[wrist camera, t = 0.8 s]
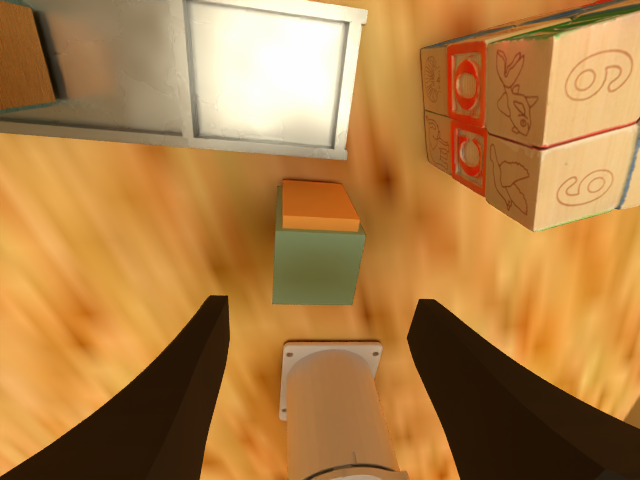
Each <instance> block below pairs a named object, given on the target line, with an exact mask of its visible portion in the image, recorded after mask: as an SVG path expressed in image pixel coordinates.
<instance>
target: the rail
mask: <svg viewBox="0 0 640 480" xmlns="http://www.w3.org/2000/svg"><path fill="white" fill-rule="evenodd" d="M367 14H368V10H366V9H359V8H353V7H346V6H339V5H333V4H326V3H319V2H313V1H306V0H0V133H11V134H23V135H36V136H48V137H61V138H73V139H86V140H98V141H110V142H123V143H135V144H148V145H160V146H173V147H185V148H198V149H210V150H223V151H235V152H248V153H260V154H273V155H285V156H298V157H310V158H323V159H335V160H347V153H348V150H347V149H346V148H345V145H346V138H347V131H348V124H349V116H350V109H351V102H352V95H353V88H354V80H355V73H356V66H357V59H358V52H359V44H360V37H361V30H362V26H363V25H365V24H366V21H367Z"/></svg>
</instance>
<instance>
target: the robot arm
mask: <svg viewBox="0 0 640 480" xmlns="http://www.w3.org/2000/svg"><path fill="white" fill-rule="evenodd" d="M407 340H408V344H409V347H410V351H411V354H412V357H413V360H414V363H415V366H416V368H417V370H418V373H419V375H420V377H421V379H422V382H423V384H424V386H425V388H426V391H427V393H428V395H429V397H430V399H431V402H432V404H433V406H434V408H435V410H436V413H437V415H438V417H439V419H440V422H441V424H442V427H443V429H444V432H445V434H446V437H447V440H448V443H449V446H450V449H451V452H452V455H453V458H454V461H455V464H456V467H457V470H458V473H459V477H460V480H640V429H638V428H636V427H634V426H632V425H629V424H627V423H625V422H623V421H621V420H619V419H617V418H615V417H613V416H611V415H609V414H606V413H604V412H602V411H600V410H598V409H596V408H594V407H592V406H590V405H589V404H587V403H585V402H583V401H581V400H579V399H577V398H575V397H574V396H572V395H570V394H568V393H566V392H565V391H563V390H561V389H559V388H557V387H556V386H554V385H552V384H551V383H549V382H547V381H545V380H544V379H542V378H541V377H539V376H537V375H536V374H534V373H533V372H531V371H530V370H528V369H526V368H525V367H523V366H522V365H520V364H519V363H517V362H516V361H514V360H513V359H511V358H510V357H509V356H507V355H506V354H504V353H503V352H502V351H500V350H499V349H497V348H496V347H495V346H493V345H492V344H491V343H489V342H488V341H487V340H485V339H484V338H483V337H481V336H480V335H479V334H478V333H476V332H475V331H474V330H472V329H471V328H470V327H469V326H467V325H466V324H465V323H464V322H462V321H461V320H460V319H459V318H458V317H456V316H455V315H454V314H453V313H451V312H450V311H449V310H448V309H446V308H445V307H444V306H442V305H441V304H440V303H438V302H437V301H436V300H434V299H419V301H418V304H417V307H416V311H415V314H414V317H413V320H412V323H411V326H410V329H409V333H408V336H407ZM229 341H230V329H229V305H228V296H217V295H210V296H209V297H208V298H207V299H206V300H205V302H204V303H203V305H202V306H201V307H200V309H199V310H198V311H197V313H196V314H195V315H194V316H193V318H192V319H191V320H190V321H189V323H188V324H187V325H186V326H185V327H184V328H183V330H182V331H181V332H180V333H179V334H178V335H177V337H176V338H175V339H174V340H173V341H172V342H171V343H170V344H169V345H168V346H167V347H166V348H165V350H164V351H163V352H162V353H161V354H160V355H159V356H158V357H157V358H156V359H155V360H154V361H153V362H152V363H151V364H150V365H149V366H148V367H147V368H146V369H145V370H144V371H143V372H142V373H140V374H139V375H138V376H137V377H136V378H135V379H134V380H133V381H132V382H131V383H129V384H128V385H127V386H126V387H125V388H124V389H122V390H121V391H120V392H119V393H118V394H116V395H115V396H114V397H113V398H112V399H110V400H109V401H108V402H107V403H106V404H104V405H103V406H102V407H101V408H99V409H98V410H97V411H95V412H94V413H93V414H92V415H90V416H89V417H88V418H86V419H85V420H83V421H82V422H81V423H79V424H78V425H77V426H75V427H74V428H72V429H71V430H70V431H68V432H67V433H66V434H64V435H63V436H61V437H60V438H59V439H57V440H56V441H54V442H53V443H52V444H50V445H49V446H47V447H46V448H44V449H43V450H41V451H40V452H38V453H37V454H35V455H34V456H32V457H30V458H29V459H27V460H26V461H24V462H23V463H21V464H19V465H18V466H16V467H15V468H13V469H12V470H10V471H8V472H7V473H5V474H4V475H2V476H1V477H0V480H200V474H201V468H202V462H203V456H204V451H205V445H206V440H207V436H208V431H209V427H210V423H211V419H212V416H213V412H214V408H215V404H216V401H217V397H218V393H219V389H220V386H221V382H222V378H223V374H224V370H225V366H226V361H227V354H228V348H229ZM382 350H383V347H382V345H381V343H379V342H288V343H286V344H285V345H284V347H283V361H282V376H281V390H280V405H279V419H280V420H283V421H286V420H287V480H409V477H408V473H407V471H400V469H399V466H398V462H397V459H396V455H395V452H394V448H393V445H392V442H391V438H390V435H389V431H388V428H387V424H386V421H385V418H384V414H383V411H382V407H381V404H380V400H379V397H378V393H377V390H376V387H375V383H374V379H375V375H376V371H377V368H378V364H379V360H380V357H381V353H382ZM289 352H290V353H289Z"/></svg>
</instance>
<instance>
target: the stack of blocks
mask: <svg viewBox="0 0 640 480" xmlns="http://www.w3.org/2000/svg"><path fill="white" fill-rule="evenodd" d="M421 64H422V79H423V94H424V107H425V112H424V117H425V133H426V145H427V154H428V160H429V162H430V163H431V164H433V165H434V166H436V167H437V168H439V169H440V170H442V171H444V172H446V173H448V174H449V175H452V177H453V178H454V179H455V180H457V181H458V182H460V183H461V184H463V185H465V186H467V187H468V188H470V189H471V190H473V191H474V192H476V193H478V194H480V195H481V196H483V197H486V201H487V202H488V203H489V204H491V205H492V206H494V207H495V208H497V209H498V210H500V211H501V212H503V213H504V214H506V215H507V216H509V217H511V218H512V219H514V220H516V221H517V222H519V223H520V224H522V225H523V226H525V227H526V228H528V229H529V230H531V231H533V232H536V231H543V230H546V229H549V228H553V227H556V226H560V225H564V224H567V223H571V222H574V221H578V220H582V219H586V218H590V217H593V216H596V215H599V214H603V213H607V212H610V211H611V210H613V209H618V210H623V209H628V208H631V207H635V206H638V205H640V0H599V1H597V2H596V3H593V4H589V5H585V6H581V7H576V8H571V9H566V10H561V11H556V12H551V13H546V14H541V15H537V16H533V17H529V18H526V19H522V20H518V21H514V22H511V23H507V24H503V25H500V26H496V27H492V28H488V29H485V30H482V31H480V32H478V33H475V34H471V35H468V36H464V37H460V38H456V39H453V40H449V41H445V42H442V43H439V44H435V45H431V46H428V47H424V48H422V49H421Z"/></svg>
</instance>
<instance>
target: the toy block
mask: <svg viewBox="0 0 640 480" xmlns="http://www.w3.org/2000/svg"><path fill="white" fill-rule="evenodd" d="M365 237H366V234H365V232H364V230H363V228H362V226H361V224H360V219H359V217H358V215H357V213H356V211H355V209H354V207H353V205H352V203H351V201H350V199H349V197H348V195H347V193H346V191H345V190H344V188H343V186H342V184H337V183H323V182H308V181H293V180H283V186H277V205H276V227H275V250H274V275H273V299H272V304H299V305H352V304H353V299H354V294H355V289H356V283H357V278H358V273H359V268H360V263H361V258H362V252H363V247H364V242H365Z"/></svg>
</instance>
